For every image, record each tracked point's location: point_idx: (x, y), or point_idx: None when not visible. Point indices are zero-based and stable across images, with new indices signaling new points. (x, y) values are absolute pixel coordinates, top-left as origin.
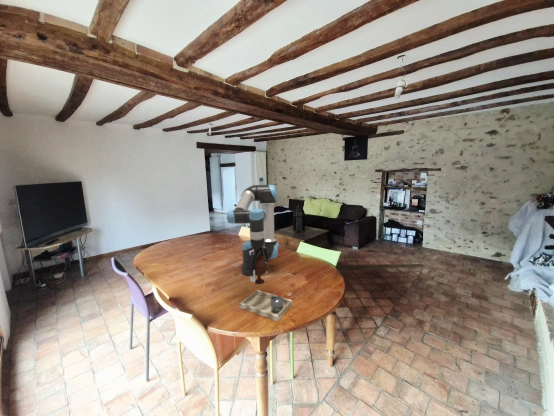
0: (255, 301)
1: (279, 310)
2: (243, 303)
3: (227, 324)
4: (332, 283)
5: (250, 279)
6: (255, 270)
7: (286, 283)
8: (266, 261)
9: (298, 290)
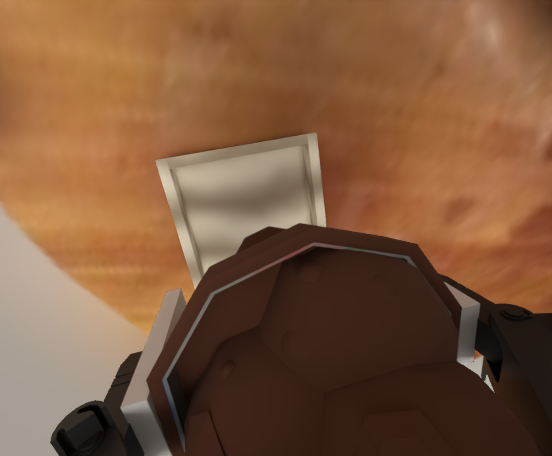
0: (252, 182)
1: None
2: (171, 177)
3: (46, 203)
4: None
5: (162, 304)
6: (181, 453)
7: (459, 179)
8: (483, 360)
9: (428, 257)
